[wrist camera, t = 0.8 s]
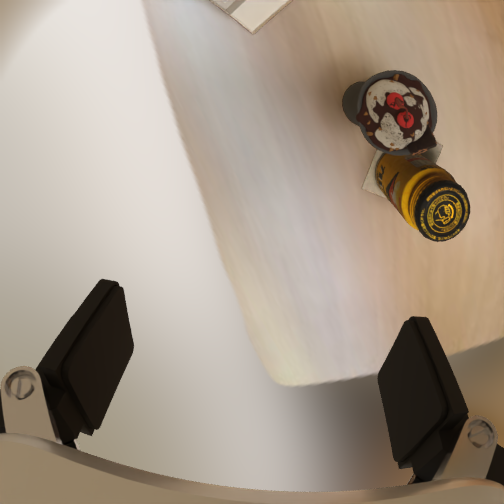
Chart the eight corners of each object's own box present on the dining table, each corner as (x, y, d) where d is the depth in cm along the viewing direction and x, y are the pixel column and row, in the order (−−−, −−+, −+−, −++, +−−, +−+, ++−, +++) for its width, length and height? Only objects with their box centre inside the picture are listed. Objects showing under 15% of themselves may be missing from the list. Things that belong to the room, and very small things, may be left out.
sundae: (329, 75, 28) (368, 66, 15) (391, 74, 27) (466, 73, 14) (336, 136, 31) (377, 175, 18) (396, 133, 30) (467, 172, 17)
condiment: (361, 188, 34) (394, 237, 23) (388, 118, 29) (438, 138, 19) (414, 209, 34) (459, 262, 24) (441, 144, 30) (501, 176, 19)
